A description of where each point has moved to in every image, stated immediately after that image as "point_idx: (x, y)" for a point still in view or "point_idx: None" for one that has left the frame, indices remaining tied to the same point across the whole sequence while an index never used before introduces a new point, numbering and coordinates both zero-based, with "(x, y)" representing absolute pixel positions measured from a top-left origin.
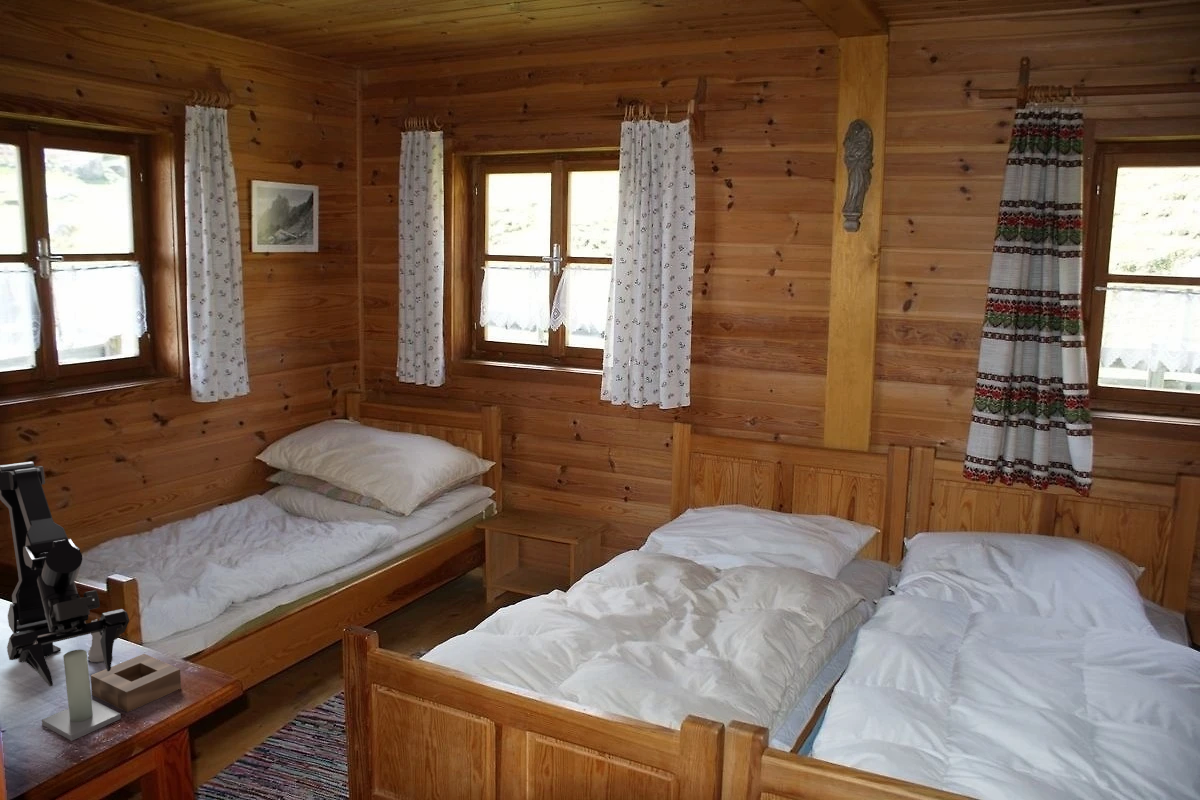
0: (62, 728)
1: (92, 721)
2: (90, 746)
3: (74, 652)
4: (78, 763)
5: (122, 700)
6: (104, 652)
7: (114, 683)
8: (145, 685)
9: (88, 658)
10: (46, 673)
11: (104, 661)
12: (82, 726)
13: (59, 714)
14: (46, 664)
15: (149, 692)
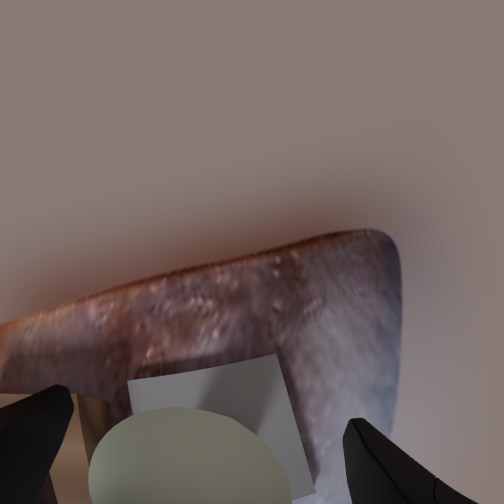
0: (284, 409)
1: (202, 394)
2: (245, 300)
3: None
4: (289, 248)
5: (97, 420)
6: (17, 470)
7: (81, 477)
8: (28, 394)
9: None
10: (394, 453)
11: (51, 459)
12: (235, 384)
13: None
14: (408, 491)
15: None
